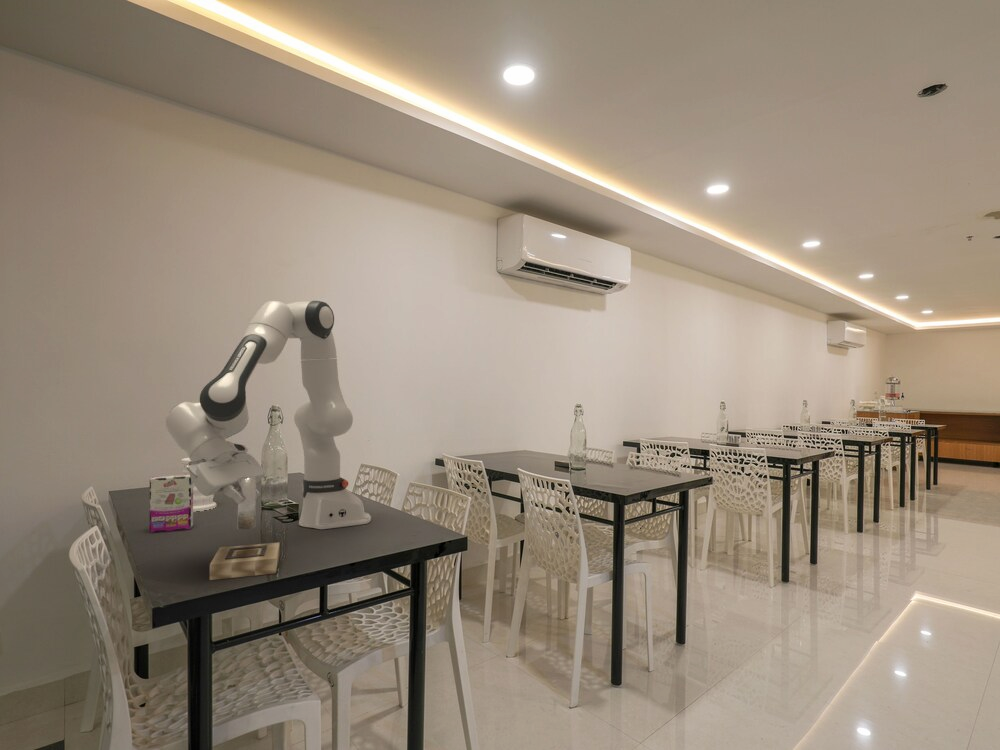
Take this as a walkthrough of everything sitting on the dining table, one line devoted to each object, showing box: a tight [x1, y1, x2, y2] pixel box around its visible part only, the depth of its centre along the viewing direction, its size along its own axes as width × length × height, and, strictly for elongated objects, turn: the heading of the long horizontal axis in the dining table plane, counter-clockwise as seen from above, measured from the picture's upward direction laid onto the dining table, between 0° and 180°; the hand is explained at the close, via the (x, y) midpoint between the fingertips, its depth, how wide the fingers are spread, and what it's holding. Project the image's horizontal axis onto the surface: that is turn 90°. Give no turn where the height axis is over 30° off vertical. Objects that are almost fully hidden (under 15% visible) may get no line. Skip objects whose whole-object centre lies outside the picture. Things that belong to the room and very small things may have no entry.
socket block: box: [209, 542, 281, 581], centre depth 134 cm, size 14×14×4 cm
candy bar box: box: [148, 474, 194, 534], centre depth 169 cm, size 11×5×16 cm, turn 112°
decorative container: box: [180, 457, 217, 513], centre depth 198 cm, size 12×12×18 cm
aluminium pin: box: [237, 477, 257, 530], centre depth 134 cm, size 4×4×12 cm
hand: (249, 499), depth 134 cm, fingers closed on aluminium pin, 4 cm apart
